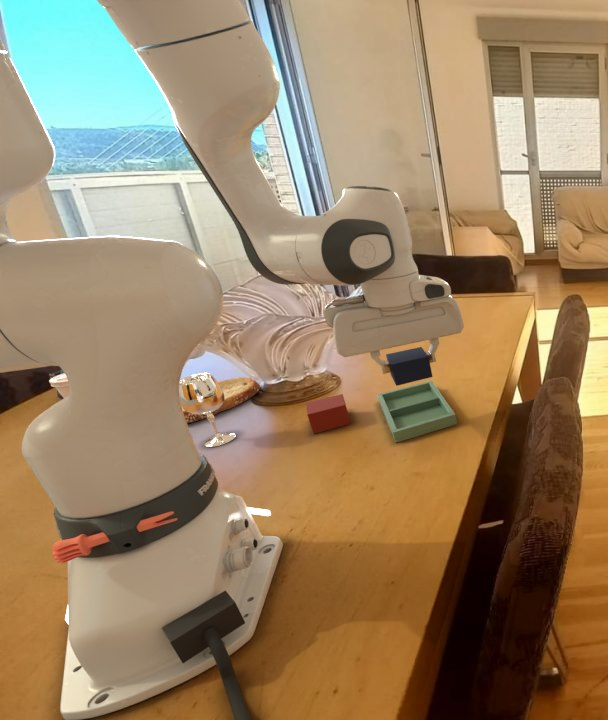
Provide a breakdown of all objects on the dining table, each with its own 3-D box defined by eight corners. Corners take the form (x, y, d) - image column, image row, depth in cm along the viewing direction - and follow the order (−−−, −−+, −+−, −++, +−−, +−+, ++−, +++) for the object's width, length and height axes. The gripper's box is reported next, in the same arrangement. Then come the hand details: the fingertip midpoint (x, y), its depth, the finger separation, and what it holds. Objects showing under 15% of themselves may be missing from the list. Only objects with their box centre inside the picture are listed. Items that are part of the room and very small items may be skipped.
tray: (457, 424, 87) (455, 414, 86) (395, 443, 81) (392, 432, 81) (433, 389, 100) (431, 380, 99) (379, 403, 95) (377, 394, 94)
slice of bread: (267, 383, 105) (262, 368, 104) (227, 423, 89) (219, 406, 88) (173, 394, 101) (166, 378, 100) (113, 438, 85) (103, 420, 84)
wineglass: (217, 450, 81) (190, 387, 76) (190, 447, 82) (162, 385, 77) (248, 432, 86) (224, 372, 81) (222, 430, 87) (197, 370, 82)
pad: (432, 377, 83) (428, 356, 82) (396, 386, 80) (391, 364, 79) (425, 366, 88) (421, 346, 86) (390, 374, 85) (385, 354, 83)
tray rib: (439, 404, 93) (438, 397, 92) (391, 418, 88) (389, 411, 88) (439, 403, 93) (437, 396, 92) (391, 416, 89) (389, 409, 88)
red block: (350, 423, 88) (345, 404, 86) (313, 434, 85) (307, 414, 83) (347, 412, 92) (342, 393, 91) (312, 421, 89) (306, 402, 88)
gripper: (321, 306, 70) (345, 389, 76) (459, 284, 80) (471, 358, 86) (318, 297, 75) (341, 375, 81) (449, 277, 85) (461, 348, 91)
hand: (409, 366), depth 83 cm, fingers closed on pad, 6 cm apart
